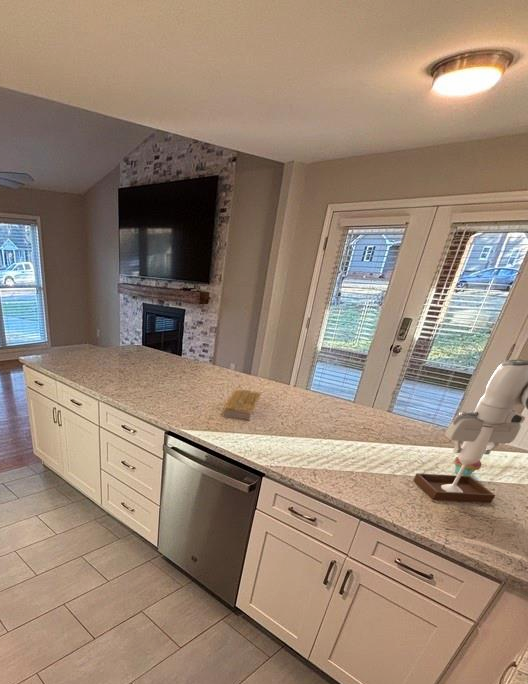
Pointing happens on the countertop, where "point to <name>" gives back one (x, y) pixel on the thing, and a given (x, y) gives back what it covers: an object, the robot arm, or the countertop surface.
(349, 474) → the countertop surface
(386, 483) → the countertop surface
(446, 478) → the tray
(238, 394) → the rafter model
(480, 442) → the champagne flute
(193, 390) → the countertop surface
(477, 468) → the cupcake
